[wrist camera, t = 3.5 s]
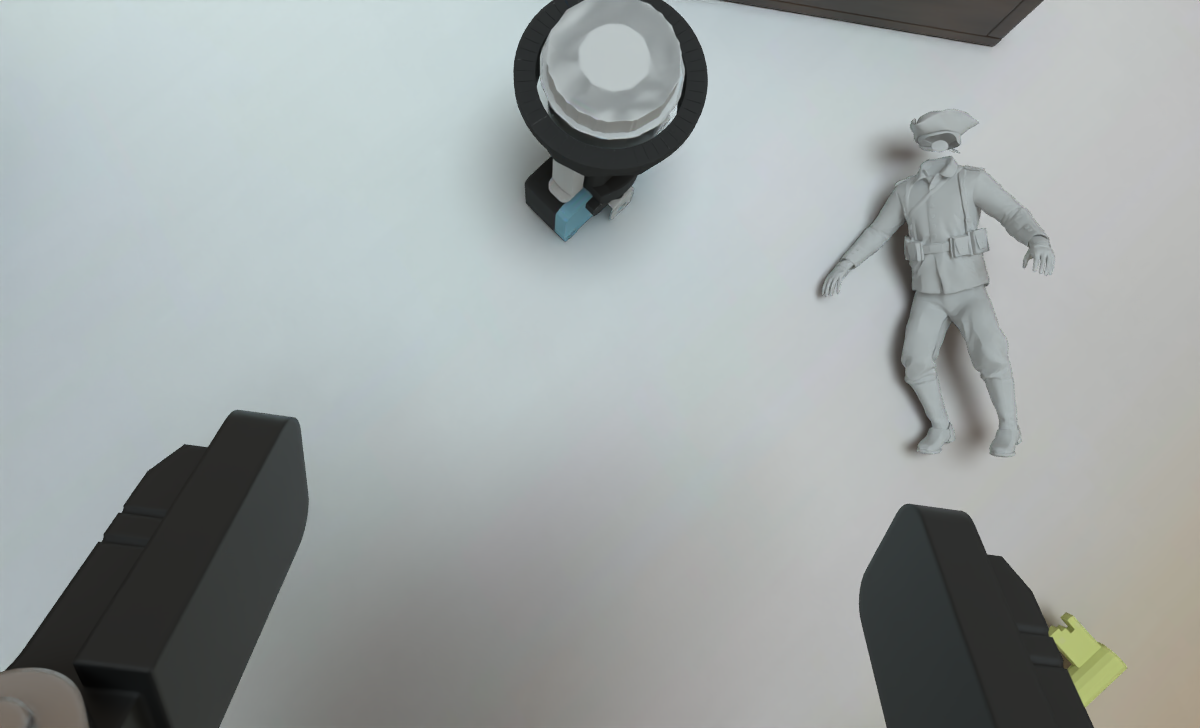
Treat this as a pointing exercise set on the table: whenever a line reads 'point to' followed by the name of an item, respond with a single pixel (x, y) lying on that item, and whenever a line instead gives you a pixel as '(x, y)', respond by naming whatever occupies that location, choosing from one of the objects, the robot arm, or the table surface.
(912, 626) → the robot arm
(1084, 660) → the key
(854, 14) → the grid
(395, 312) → the table surface
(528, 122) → the push button
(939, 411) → the soldier figure
